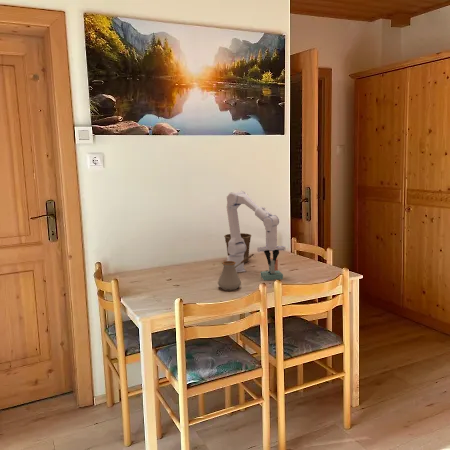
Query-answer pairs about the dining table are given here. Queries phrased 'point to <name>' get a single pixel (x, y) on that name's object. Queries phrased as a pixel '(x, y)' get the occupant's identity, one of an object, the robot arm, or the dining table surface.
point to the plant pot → (246, 240)
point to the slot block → (271, 275)
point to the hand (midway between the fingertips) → (271, 264)
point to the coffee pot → (230, 275)
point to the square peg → (276, 264)
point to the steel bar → (272, 266)
